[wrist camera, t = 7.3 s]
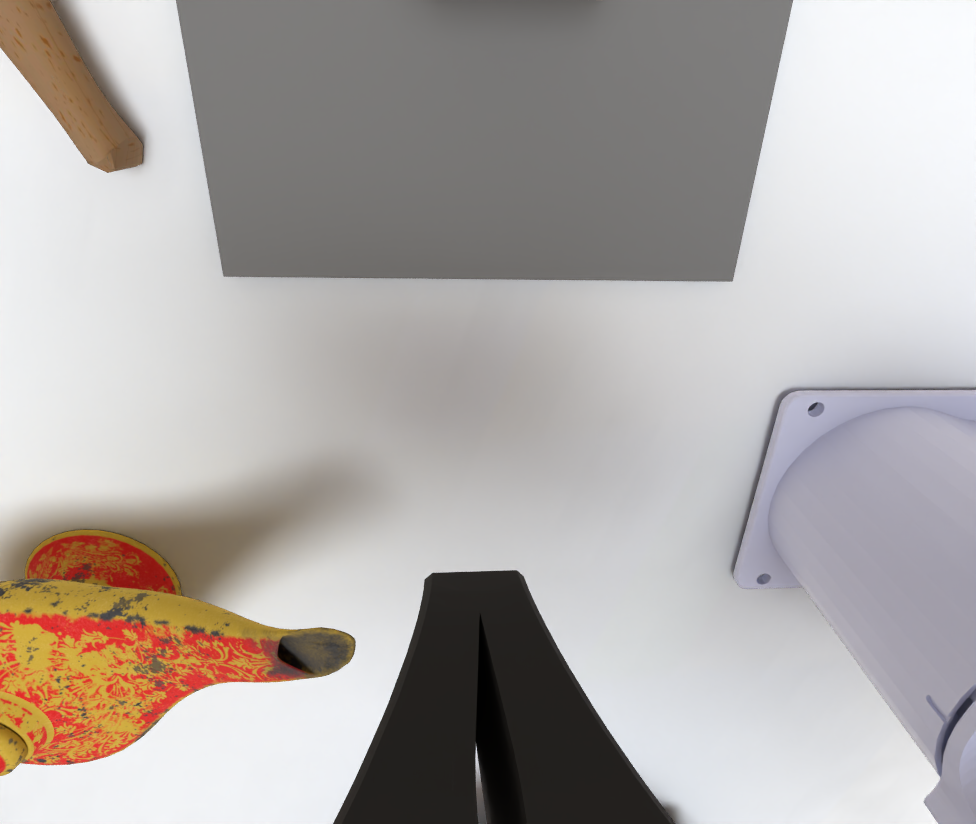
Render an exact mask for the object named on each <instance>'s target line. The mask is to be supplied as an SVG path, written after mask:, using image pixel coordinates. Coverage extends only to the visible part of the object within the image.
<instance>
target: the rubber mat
mask: <svg viewBox="0 0 976 824" xmlns="http://www.w3.org/2000/svg"><path fill="white" fill-rule="evenodd" d="M176 3H177V9H178V15H179V20H180V26H181V32H182V38H183V44H184V49H185V55H186V61H187V67H188V73H189V78H190V84H191V90H192V96H193V101H194V107H195V113H196V119H197V125H198V130H199V136H200V142H201V148H202V154H203V159H204V165H205V171H206V177H207V183H208V188H209V194H210V200H211V206H212V212H213V217H214V223H215V229H216V235H217V241H218V246H219V252H220V258H221V264H222V270H223V275H224V276H226V277H327V278H428V279H530V280H631V281H733V277H734V272H735V267H736V263H737V258H738V254H739V249H740V244H741V240H742V235H743V230H744V226H745V221H746V216H747V212H748V207H749V202H750V198H751V193H752V188H753V184H754V179H755V175H756V170H757V165H758V161H759V156H760V151H761V147H762V142H763V137H764V133H765V128H766V123H767V119H768V114H769V109H770V105H771V100H772V96H773V91H774V86H775V82H776V77H777V72H778V68H779V63H780V58H781V54H782V49H783V44H784V40H785V35H786V30H787V26H788V21H789V17H790V12H791V7H792V3H793V0H176Z"/></svg>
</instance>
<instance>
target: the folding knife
mask: <svg viewBox="0 0 976 824" xmlns="http://www.w3.org/2000/svg"><path fill="white" fill-rule="evenodd" d="M0 48H1V49H2V50H3V51H4V53H5V54H6V55H7V56H8V58H9V59H10V60H11V61H12V63H13V64H14V65H15V66H16V67H17V69H18V70H19V71H20V72H21V74H22V75H23V76H24V77H25V79H26V80H27V81H28V82H29V84H30V85H31V86H32V88H33V89H34V90H35V91H36V93H37V94H38V95H39V97H40V98H41V99H42V100H43V102H44V103H45V104H46V105H47V107H48V108H49V109H50V111H51V112H52V113H53V115H54V116H55V117H56V119H57V120H58V121H59V123H60V124H61V125H62V127H63V128H64V130H65V131H66V132H67V134H68V135H69V137H70V138H71V140H72V141H73V143H74V144H75V145H76V147H77V148H78V150H79V151H80V152H81V154H82V155H83V157H84V158H85V159H86V161H87V163H88V164H90V165H92V166H94V167H97V168H99V169H101V170H103V171H105V172H107V173H109V172H113V171H118V170H122V169H127V168H131V167H136V166H138V165H140V164H142V157H143V145H142V143H141V141H140V140H139V139H138V137H137V136H136V135H135V134H134V133H133V132H132V130H131V129H130V128H129V127H128V126H127V124H126V123H125V122H124V121H123V120H122V119H121V117H120V116H119V115H118V114H117V112H116V111H115V110H114V108H113V107H112V106H111V105H110V103H109V102H108V100H107V99H106V98H105V96H104V95H103V93H102V92H101V90H100V89H99V87H98V86H97V84H96V82H95V81H94V79H93V77H92V76H91V74H90V72H89V71H88V69H87V67H86V65H85V64H84V62H83V60H82V59H81V57H80V55H79V53H78V51H77V49H76V48H75V46H74V44H73V42H72V40H71V38H70V36H69V35H68V33H67V31H66V29H65V27H64V25H63V24H62V22H61V20H60V18H59V16H58V14H57V13H56V11H55V9H54V7H53V5H52V3H51V1H50V0H0Z"/></svg>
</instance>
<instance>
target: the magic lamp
mask: <svg viewBox="0 0 976 824" xmlns="http://www.w3.org/2000/svg"><path fill="white" fill-rule="evenodd" d="M354 652H355V639H354V638H353V637H352V636H351V635H349V634H347V633H345V632H342V631H339V630H335V629H330V628H322V627H320V628H310V629H298V630H289V629H279V628H274V627H270V626H265V625H262V624H259V623H257V622H254V621H251V620H249V619H246V618H244V617H242V616H239V615H237V614H235V613H232V612H230V611H227V610H225V609H222V608H220V607H217V606H214V605H212V604H209V603H206V602H203V601H200V600H196V599H192V598H188V597H184V596H182V594H181V588H180V583H179V581H178V579H177V577H176V574H175V573H174V571H173V570H172V569H171V567H170V566H169V564H168V563H167V562H166V561H165V560H164V559H163V558H162V557H160V556H159V555H158V554H157V553H156V552H154V551H153V550H151V549H150V548H148V547H147V546H146V545H144V544H142V543H140V542H138V541H136V540H133V539H131V538H129V537H126V536H123V535H120V534H116V533H112V532H106V531H101V530H75V531H68V532H64V533H61V534H57V535H54V536H52V537H51V538H49V539H47V540H45V541H43V542H42V543H41V544H40V545H39V546H37V547H36V548H35V549H34V550H33V552H32V553H31V555H30V557H29V558H28V560H27V564H26V567H25V579H21V580H12V581H3V582H0V776H3V775H6V774H9V773H10V772H12V771H13V770H14V769H15V768H16V767H17V766H18V765H19V764H20V763H23V764H37V765H69V764H76V763H83V762H90V761H93V760H97V759H101V758H104V757H108V756H110V755H112V754H115V753H117V752H119V751H122V750H124V749H125V748H127V747H128V746H130V745H131V744H133V743H134V742H136V741H137V740H139V739H140V738H141V737H143V736H144V735H145V734H146V733H147V732H148V731H149V730H150V729H151V728H152V727H153V726H154V725H155V724H156V723H157V722H158V721H159V720H160V719H161V718H162V717H163V716H164V715H165V714H166V713H167V712H168V711H169V710H170V709H171V708H172V707H174V706H175V705H176V704H177V703H178V702H179V701H181V700H182V699H184V698H185V697H187V696H189V695H190V694H192V693H194V692H196V691H198V690H201V689H203V688H205V687H208V686H211V685H215V684H219V683H227V682H281V681H291V680H299V679H307V678H316V677H322V676H326V675H329V674H331V673H333V672H335V671H338V670H339V669H341V668H342V667H343V666H345V665H346V664H348V663H349V662H350V660H351V659H352V657H353V655H354Z"/></svg>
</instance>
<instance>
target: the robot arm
mask: <svg viewBox="0 0 976 824" xmlns="http://www.w3.org/2000/svg"><path fill="white" fill-rule="evenodd" d="M816 402H818V404H817V406H816V407H815V408H814V409H813V410H811V411H808V409H809V407H810V406H811V405H812V404H813V403H816ZM761 574H764V575H762V576H760V575H761ZM758 576H760V577H758ZM733 578H734V579H735V581H736V583H737V584H738V586H739V587H741V588H745V589H758V588H795V587H803V588H804V590H805V591H806V593H807V594H808V595H809V597H810V598H811V599H812V601H813V602H814V604H815V605H816V606H817V608H818V609H819V610H820V612H821V613H822V615H823V616H824V617H825V619H826V620H827V622H828V623H829V624H830V626H831V627H832V628H833V630H834V631H835V633H836V634H837V635H838V637H839V638H840V639H841V641H842V642H843V644H844V645H845V646H846V648H847V649H848V651H849V652H850V653H851V655H852V656H853V657H854V659H855V660H856V662H857V663H858V664H859V666H860V667H861V668H862V670H863V671H864V673H865V674H866V675H867V677H868V678H869V680H870V681H871V682H872V684H873V685H874V686H875V688H876V689H877V691H878V692H879V693H880V695H881V696H882V697H883V699H884V700H885V702H886V703H887V704H888V706H889V707H890V709H891V710H892V711H893V713H894V714H895V715H896V717H897V718H898V720H899V721H900V722H901V724H902V725H903V726H904V728H905V729H906V731H907V732H908V733H909V735H910V736H911V738H912V739H913V740H914V742H915V743H916V744H917V746H918V747H919V749H920V750H921V751H922V753H923V754H924V755H925V757H926V758H927V760H928V761H929V762H930V764H931V765H932V766H933V768H934V769H935V771H936V772H937V773H938V775H939V776H940V780H939V782H938V784H937V785H936V786H935V788H934V789H933V790H932V791H931V792H930V793H929V794H928V795H927V797H926V798H925V799H924V803H925V805H926V806H927V808H928V809H929V811H930V812H931V814H932V815H933V817H934V818H935V820H936V821H937V823H938V824H976V390H806V391H794V392H792V393H790V394H788V395H787V396H786V397H785V398H784V399H783V400H782V402H781V404H780V407H779V410H778V414H777V418H776V421H775V425H774V428H773V432H772V436H771V439H770V443H769V446H768V450H767V454H766V457H765V461H764V464H763V468H762V472H761V475H760V479H759V482H758V486H757V490H756V493H755V497H754V500H753V504H752V508H751V511H750V515H749V518H748V522H747V526H746V529H745V533H744V536H743V540H742V544H741V547H740V551H739V554H738V558H737V562H736V565H735V569H734V572H733ZM476 746H477V754H478V761H479V768H480V775H481V782H482V790H483V797H484V804H485V811H486V818H487V824H675V822H674V821H673V820H672V818H671V817H670V816H669V815H668V813H667V812H666V811H665V809H664V808H663V807H662V805H661V804H660V803H659V801H658V800H657V799H656V797H655V796H654V795H653V793H652V792H651V791H650V789H649V788H648V786H647V785H646V784H645V782H644V781H643V779H642V778H641V777H640V775H639V774H638V773H637V771H636V770H635V768H634V767H633V765H632V764H631V763H630V761H629V760H628V758H627V757H626V755H625V754H624V752H623V751H622V749H621V748H620V747H619V745H618V744H617V742H616V741H615V739H614V738H613V736H612V735H611V733H610V732H609V730H608V729H607V727H606V726H605V724H604V723H603V721H602V720H601V718H600V717H599V715H598V713H597V712H596V710H595V709H594V707H593V706H592V704H591V702H590V701H589V699H588V697H587V696H586V694H585V693H584V691H583V689H582V688H581V686H580V684H579V683H578V681H577V679H576V678H575V676H574V674H573V673H572V671H571V670H570V668H569V666H568V665H567V663H566V661H565V659H564V658H563V656H562V654H561V652H560V651H559V649H558V647H557V645H556V643H555V641H554V640H553V638H552V636H551V634H550V632H549V630H548V628H547V626H546V625H545V623H544V621H543V619H542V617H541V615H540V613H539V611H538V609H537V606H536V604H535V602H534V600H533V598H532V596H531V593H530V591H529V589H528V586H527V584H526V581H525V579H524V576H522V575H521V574H520V573H519V572H518V571H517V570H512V571H481V572H449V573H432V574H431V575H430V576H428V577H427V578H426V579H425V582H424V591H423V597H422V602H421V606H420V611H419V615H418V619H417V622H416V626H415V629H414V633H413V636H412V639H411V642H410V645H409V648H408V652H407V655H406V657H405V660H404V663H403V666H402V668H401V671H400V674H399V676H398V679H397V682H396V684H395V687H394V690H393V692H392V695H391V698H390V700H389V703H388V705H387V708H386V710H385V713H384V715H383V718H382V720H381V722H380V724H379V727H378V729H377V731H376V733H375V736H374V738H373V740H372V742H371V745H370V747H369V749H368V751H367V754H366V756H365V758H364V761H363V763H362V765H361V767H360V770H359V772H358V774H357V776H356V778H355V780H354V782H353V785H352V787H351V789H350V791H349V793H348V795H347V797H346V799H345V801H344V803H343V805H342V807H341V809H340V811H339V813H338V815H337V817H336V819H335V821H334V823H333V824H478V816H477V802H476V773H475V751H476Z"/></svg>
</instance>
